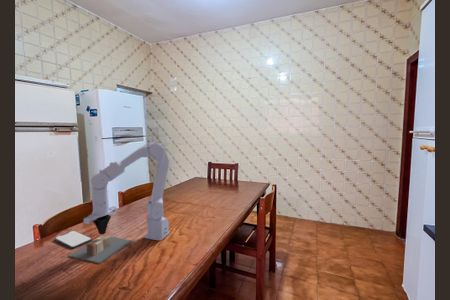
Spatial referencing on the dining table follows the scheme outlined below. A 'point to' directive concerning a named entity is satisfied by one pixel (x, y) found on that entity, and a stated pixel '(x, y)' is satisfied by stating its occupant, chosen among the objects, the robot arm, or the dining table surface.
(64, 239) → the phone case
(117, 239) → the rubber mat
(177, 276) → the dining table surface
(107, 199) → the robot arm
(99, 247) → the maple block
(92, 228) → the dining table surface
